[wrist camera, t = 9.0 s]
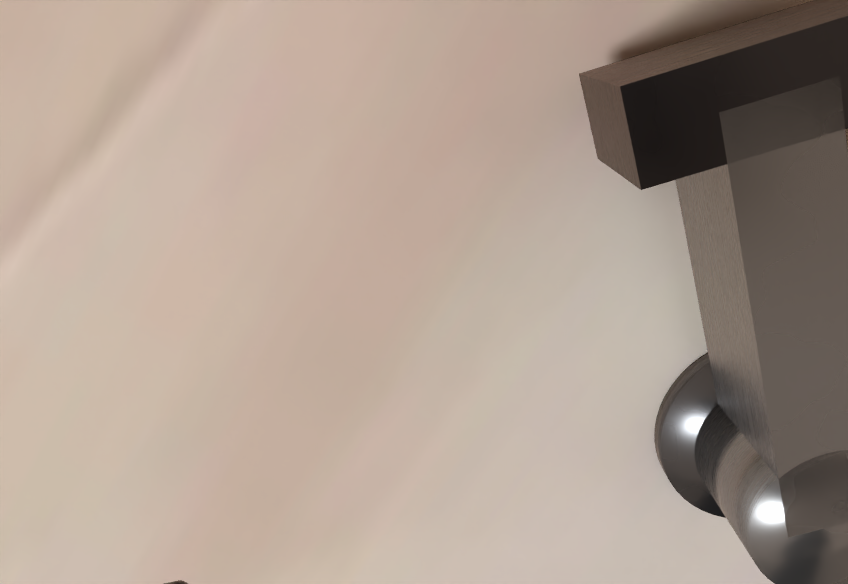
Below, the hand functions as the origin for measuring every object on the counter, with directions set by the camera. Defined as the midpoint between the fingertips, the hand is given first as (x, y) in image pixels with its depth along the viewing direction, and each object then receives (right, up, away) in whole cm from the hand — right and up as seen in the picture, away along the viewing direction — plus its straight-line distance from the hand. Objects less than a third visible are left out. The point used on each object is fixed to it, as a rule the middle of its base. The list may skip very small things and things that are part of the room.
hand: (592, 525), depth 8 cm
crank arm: (+5, +2, +9) cm, 11 cm away
